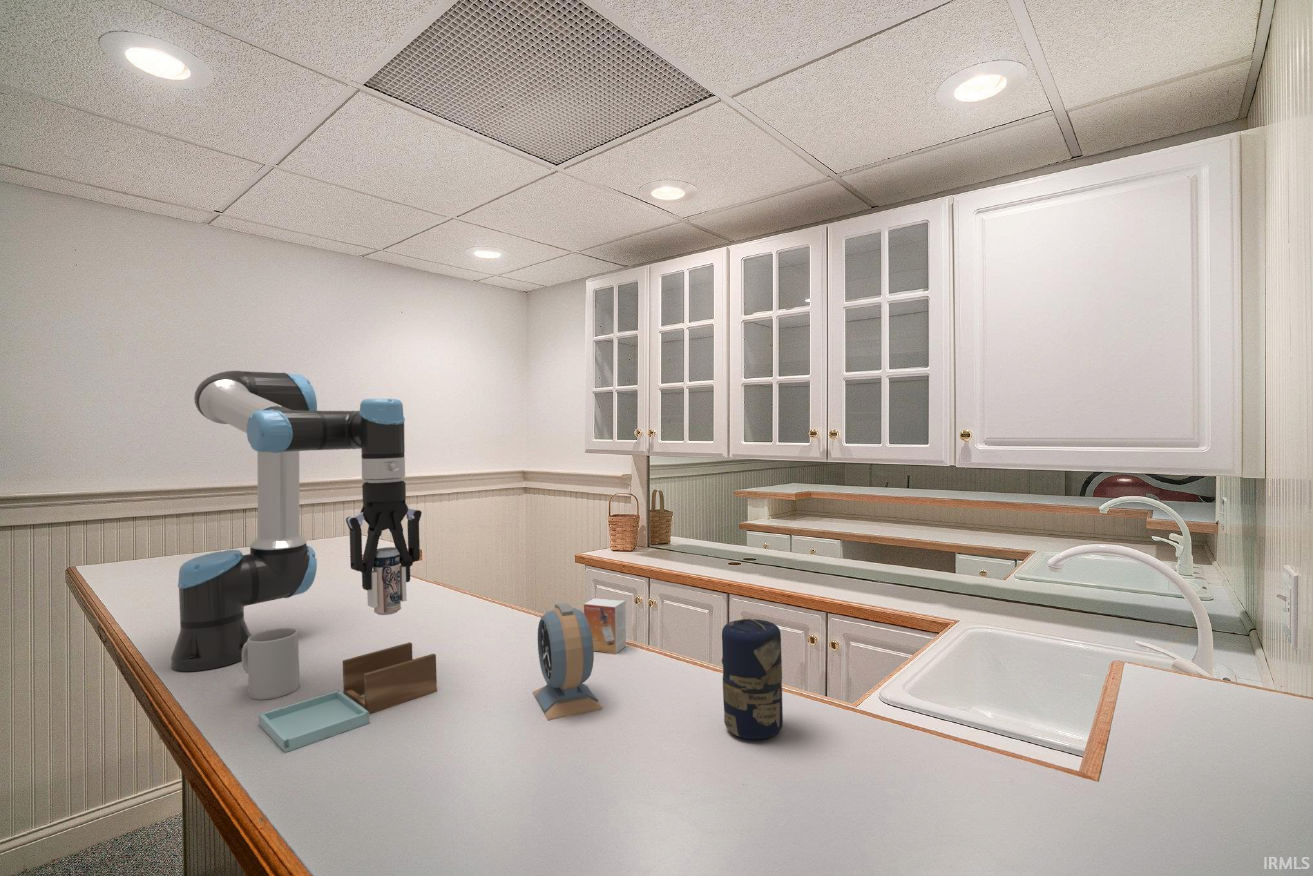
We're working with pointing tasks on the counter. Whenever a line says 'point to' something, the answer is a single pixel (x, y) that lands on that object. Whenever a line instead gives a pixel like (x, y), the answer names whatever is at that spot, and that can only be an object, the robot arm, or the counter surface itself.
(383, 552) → the beer can
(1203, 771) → the counter surface
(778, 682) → the canister
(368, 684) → the cradle
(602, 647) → the small box
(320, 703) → the tray
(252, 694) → the mug
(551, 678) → the alarm clock
